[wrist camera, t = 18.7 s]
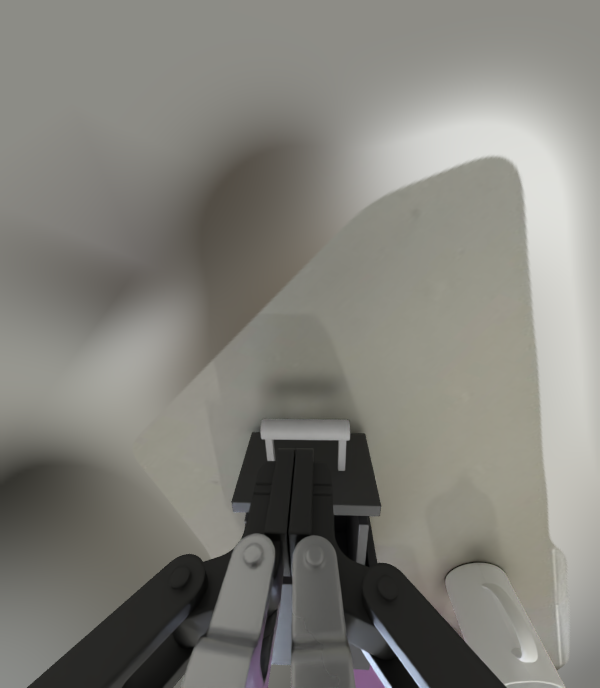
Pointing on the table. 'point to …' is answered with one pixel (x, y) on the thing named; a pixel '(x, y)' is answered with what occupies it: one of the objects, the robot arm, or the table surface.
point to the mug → (499, 627)
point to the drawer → (343, 461)
